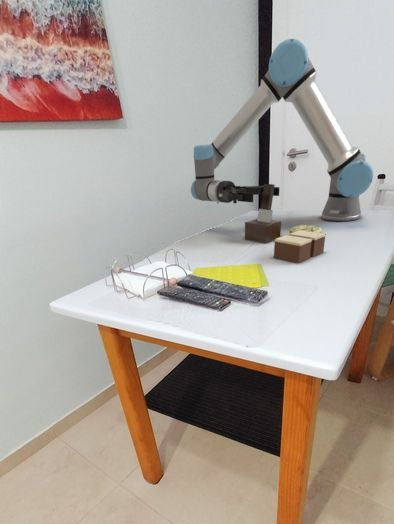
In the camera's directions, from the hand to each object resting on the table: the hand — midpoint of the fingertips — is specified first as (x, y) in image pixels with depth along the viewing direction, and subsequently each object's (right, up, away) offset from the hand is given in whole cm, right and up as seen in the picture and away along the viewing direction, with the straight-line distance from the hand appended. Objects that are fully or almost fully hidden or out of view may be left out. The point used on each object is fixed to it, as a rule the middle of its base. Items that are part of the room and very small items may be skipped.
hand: (266, 194), depth 114 cm
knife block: (0, -12, +9) cm, 15 cm away
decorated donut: (+15, -13, +6) cm, 21 cm away
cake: (+11, -22, -9) cm, 26 cm away
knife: (0, -12, +8) cm, 15 cm away
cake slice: (+5, -25, -12) cm, 28 cm away
